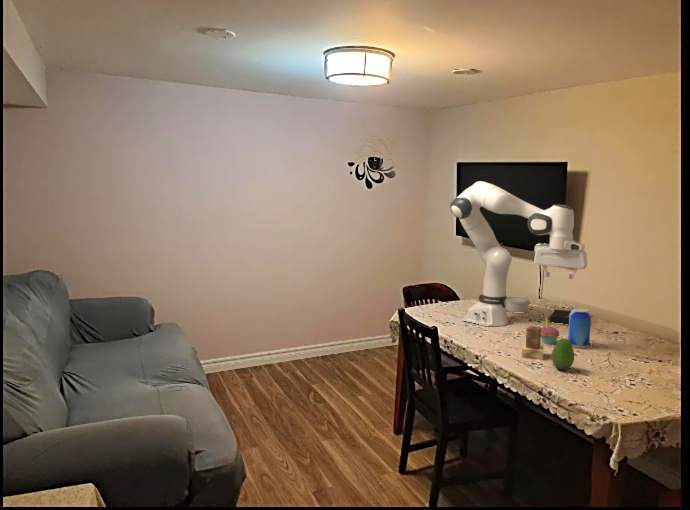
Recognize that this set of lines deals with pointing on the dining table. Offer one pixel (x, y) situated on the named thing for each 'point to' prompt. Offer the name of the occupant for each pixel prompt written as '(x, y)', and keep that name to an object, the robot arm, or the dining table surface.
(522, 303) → the ramekin
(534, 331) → the walnut block
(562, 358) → the avocado
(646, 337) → the dining table surface
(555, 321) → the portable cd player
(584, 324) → the beer can
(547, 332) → the cupcake
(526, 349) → the oak block
